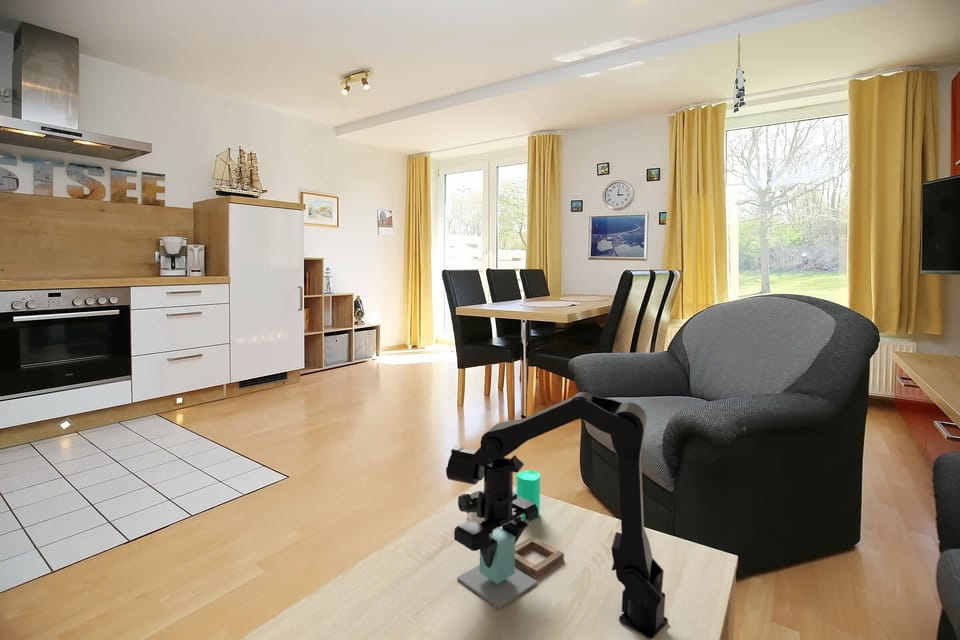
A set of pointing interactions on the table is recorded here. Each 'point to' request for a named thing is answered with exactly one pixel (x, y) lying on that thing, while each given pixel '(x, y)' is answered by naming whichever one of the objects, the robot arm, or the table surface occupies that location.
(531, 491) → the candle
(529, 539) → the frame
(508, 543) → the teal rectangular block
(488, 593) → the mat
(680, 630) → the table surface
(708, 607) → the table surface
